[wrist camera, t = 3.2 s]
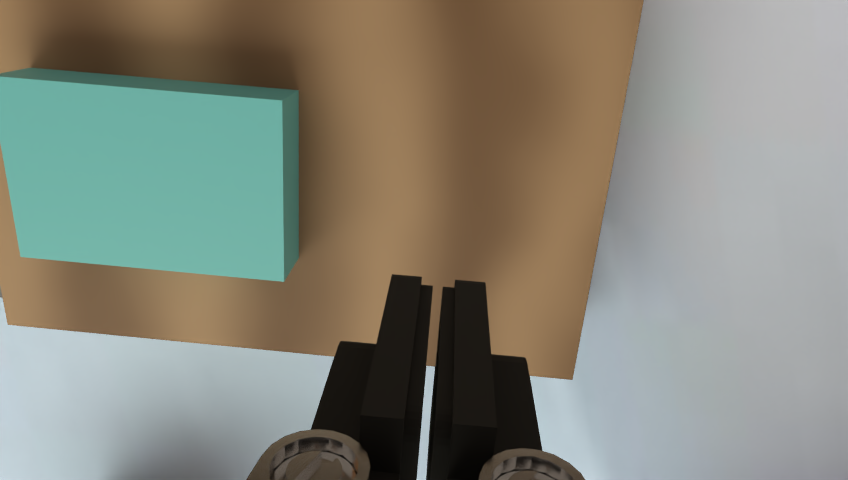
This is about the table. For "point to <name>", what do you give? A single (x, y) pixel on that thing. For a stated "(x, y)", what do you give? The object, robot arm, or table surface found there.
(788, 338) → the table surface
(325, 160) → the deck
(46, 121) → the rectangular block
